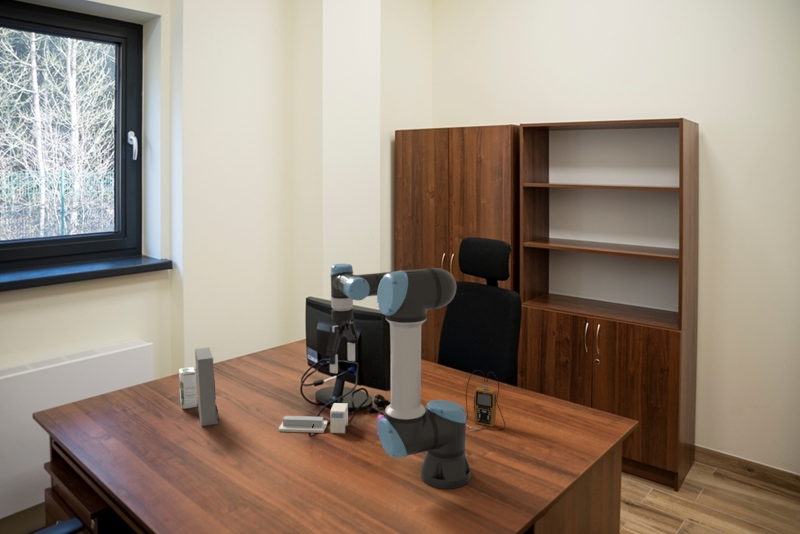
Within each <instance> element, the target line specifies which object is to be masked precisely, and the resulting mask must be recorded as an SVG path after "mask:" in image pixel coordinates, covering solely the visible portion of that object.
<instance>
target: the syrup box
mask: <svg viewBox="0 0 800 534" xmlns="http://www.w3.org/2000/svg"><path fill="white" fill-rule="evenodd" d="M178 375H179V377H178V378H179V401H180V407H181V410H183V409H184V410H186V409H192V408H197V407H198V394H197V377H196V368H195V367H183V368H179V369H178Z"/></svg>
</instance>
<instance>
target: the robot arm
mask: <svg viewBox="0 0 800 534" xmlns="http://www.w3.org/2000/svg"><path fill="white" fill-rule="evenodd" d="M329 276H330V293H331V294H330V301H331V302H330V303H331V311H330V312H331V315H330V316H331V320H332V321H334V325H330V328H329V336H328V341H327V346H326V351H325V355H328V356H329V373H332V374H338V373H339V372H338V371H339V364H338V363H339V359H338V358H339V356H338V349H339V347H340V343H341V340H342V339H343V338H344V336H345V337H346V340H347V345H346V347H347V362H348V361H349V362H356V344H358V342H359V336H358V332H357V328H356V324H355V318H354V308H353V307H354V301H362V300H364V299H366V298H367V297H375V296H376V297H377V298H376V300H377V303H378V310H379V312H381V314H382V315H384V316H385V320H386V321H387V322H388V323H389V324H390V404H389V405H387V406H386V407H385V410H384V412H385V413H384V414H385V415H384V418H381V419H380V420H379V422H378V425H377V424H376V429H377V428H378V435H379V436H378V439H379V441H380V444H381V446H382V448H383V450H384V452H385V453H386V454H387V455H388V457H391V458H393V459H398V458H406V457H408V456H412V455H415V454H421V453H424V452H425V455H424V458H423V461H422V463H421V467H420V479H421V480H422V481H423V482H424V483H425V484H426V485H429V486H431V487H433V488H436V489H437V488H438V489H444V490H445V489H446V490H447V489H456V488H460V487H463V486H465V485H467V484H468V483H469V482H470V480H471V467H470V464H469V461H468V460H469V459H468V457H467V454H466V435H467V434H466V433H467V429H466V428H467V426H466V424H467V421H466V420H467V412H466V409H465V407H463V406H462V405H461V404H460V403H457V402H454V401H453V400H452V401H451V400H447V399H432V400H429V401H428V402H427V403H426V406H423V404H421V396H422V395H421V394H422V393H421V391H422V390H421V389H422V388H421V385H422V383H421V381H422V379H421V378H422V377H421V376H422V325H423V324H424V323H425V322H426V321H427V318H428V311H429V310H435V309H441V308H443V307H444V306H445V307H446V306H448V304H450V303H451V302H452V301H453V299H454V297H455V295H456V294H457V282H456V279H455V277H454V276H453V275H452V273H451V272H449V271H448V270H446V269H443V268H441V267H440V268H438V267H431V268H429V267H428V268H420V269H419V268H418V269H407V270H405V269H403V270H401V269H400V270H397V271H396V270H394V271H393V270H391V271H387V272H385V271H384V272H377V273H375V272H374V273H364V274H363V273H362V274H354V270H353V265H351V264H349V263H336V264H333V265H331V267H330V275H329Z"/></svg>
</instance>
